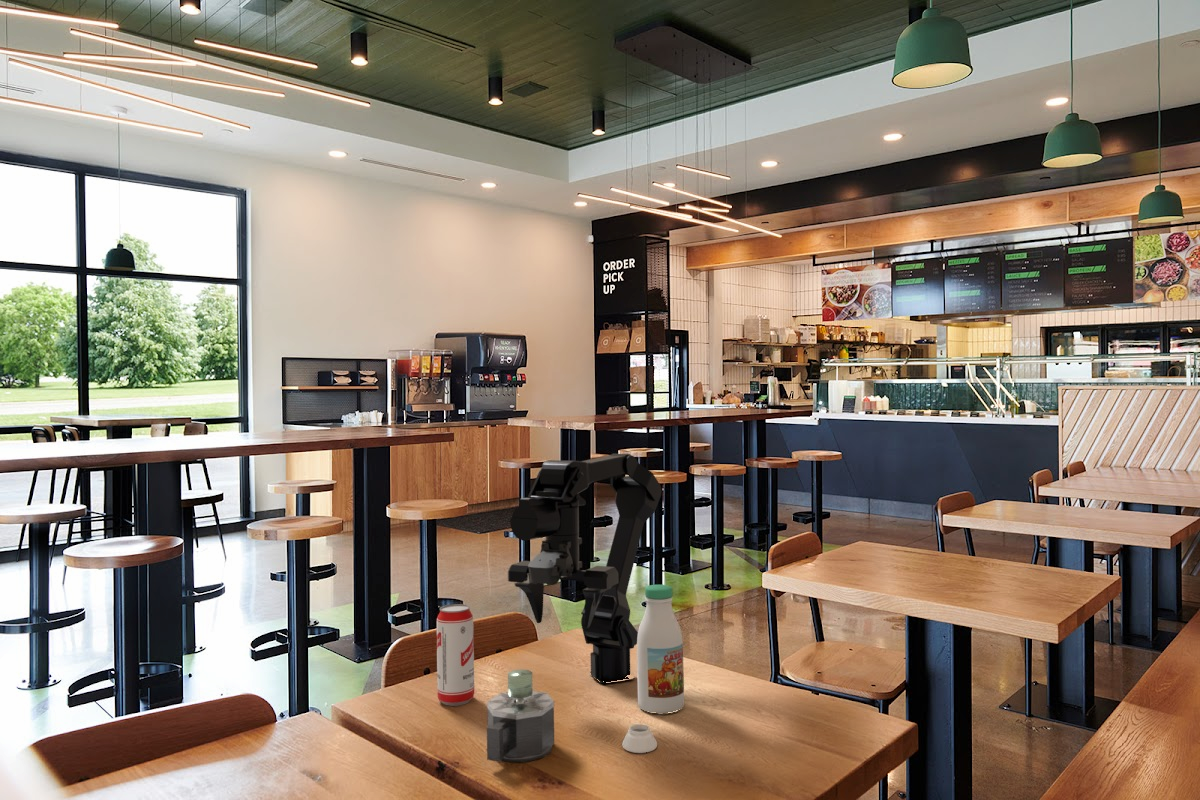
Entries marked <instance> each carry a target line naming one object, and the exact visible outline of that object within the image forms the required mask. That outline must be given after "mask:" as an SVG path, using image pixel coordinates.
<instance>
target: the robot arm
mask: <svg viewBox="0 0 1200 800" xmlns="http://www.w3.org/2000/svg"><path fill="white" fill-rule="evenodd" d="M604 480H610V483H609V485H610V488H611V489H612V490H613V491H614V493H615V500H614V501H615V502H614V503H615V506H616V509H617V512H618V520H617V525H616V527H615V532H614V535H613V539H612V543H611V546H610V550H609V554H608V558H607V561H606V565H595V566H593V567H590V568H588V569H585V570H584V569H582V568H583V561H580V545H581V544H583V537H579V536H580V533H579V532H580V525H579V524H580V520H579V519H580V518H579V517H580V516H579V515H580V513H579V511H580V510H579V506H580V507H581V506H585V505H586V504H587V502H586V500H585V499H584V498H583V497H582V496H580V493H581V492H583V491H585V490H587V489H588V488H589V486H590V484H592V483H595V482H599V481H604ZM662 492H663V491H662V487H661V484H660V482H659V481H658V480H657V478H656V477H655V475H654V473H653V472H652V471H651V470H650V469H648V468H647V467H645V466H643V464H641V463H640V462H639V461H638V460H637V458H636V457H635V456H634V455H632V454H630V453H611V454H609V455H606V456H601V457H597V458H591V459H587V460H580V461H579V460H561V459H560V460H554V459H553V460H550V459H548V460H545V461H544V462H543V463H542V464H541V468H540V470H539V472H538V473H537V475H536V477H535V480H534V483H533V484H532V487H531V488H530V491H529V493H528V496H527V497H521V498H520V499H519V505H518V506H517V507H516V508H515V509H514V510H513V512H512V514H511V517H510V522H509V524H510V529H511V531H512V533H513V535H514V536H515V537H516V538H517V539H518V540H520V541H531V540H535V539H541V538H545V539H544V540H542V541H541V545H540V547H541V548H540V553H538V554H536V555H535V556H534V557H533V559H531V561H530V560H522V561H518V562H516V563H513V564H511V565H510V566H509V568H508V570H507V581H508V582H511V583H512V582H513V583H514V586H515V587H516V588H520V589H521V591H522V592H523V593H524V594H525V596H526V598H527V600H528V603H529V605H530V608H531V612H532V613H533V614H532V615H533V617H534V620H535V623H537V624H540V623H542V621H543V615H544V594H545V593H544V592H545V591H544V589H545V588H544V587H545V585H547V586H554V585H555V586H556V584H558V583H559V582H560V581H573V582H574V581H575V582H583V584H584V585H585V586H586V588H583V589H582V593H583V596H584V607H583V609H582V611H581V613H580V614H581V620H580V626H581V629H582V632H583V637H584V640H585V643H586V644H587V645H592V652H590V673H591V675H592V678H594V677H595V678H596V679H598V680H599V681H600V682H601V683H606V682H611V681H617V680H623V679H629V678H628V677H626V676H627V675H630V674H631V650H632V649H634V648H635V646H637V636H638V630H637V629H636V628H635V626H634V625H633V624H632V622H631V621H630V617H631V608H630V605H629V602H628V599H627V592H628V587H629V585H630V584H629V583H630V581H631V575H632V572H633V569H634V563H635V561H636V556H637V552H638V547H639V544H640V539H641V537H642V532H643V528H644V525H645V522H647V521H648V519H649V518H650V517H651V516H652V515H654V513H655V512H656V509H657V508H658V505H659V502H660V499H661V496H662ZM590 673H589V674H590ZM591 675H590V676H591ZM625 677H626V678H625ZM595 678H594V679H595ZM596 679H595V680H596ZM603 681H604V682H603ZM600 682H599V683H600ZM601 683H600V684H601Z"/></svg>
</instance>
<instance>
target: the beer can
mask: <svg viewBox="0 0 1200 800" xmlns="http://www.w3.org/2000/svg"><path fill="white" fill-rule="evenodd" d="M470 607H471V606H470V605H467V604H464V603H454V604H446V605H444V606H441V607H439V613H438V614H437V617H436V672H437V673H436V675H437V676H436V677H437V682H436V683H437V698H438V700H439V701H440V702H441V703H442V704H443V705H444V706H445V705H446V706H448V707H449V706H450V707H454V706H455V707H456V706H457V707H458V706H462V705H465V704H468V703H469V702H470V701H471V700H472V699H473V698H474V696H475V655H474V654H475V653H474V652H475V651H474V650H475V649H474V646H475V645H474V644H475V643H474V640H475V638H474V615H473V613H472V611H471V610H470Z"/></svg>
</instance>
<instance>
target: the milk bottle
mask: <svg viewBox="0 0 1200 800" xmlns="http://www.w3.org/2000/svg"><path fill="white" fill-rule="evenodd" d="M673 590H674V589H673V587H672V586H670V585H667V584H650V585H647V586H646V587H645V589H644V595H645V599H644V600H645V602H646V605H645V606H646V607H645V612H644V613H643V614H644V615H643V617H642V619H641V622H640V624H639V627H638V630H637V632H638V636H637V644H636V669H637V670H636V672H637V675H636V676H637V679H636V680H637V706H638V708H639V709H640V708H641V709H643V710H645V711H649V712H656V713H668V712H673V711H676V710H679V709H681V708H682V707H683V708H684V705H685V675H684V673H685V672H684V671H685V670H684V646H683V645H684V644H683V643H684V642H683V641H684V640H683V635H682V634H683V633H682V629H681V626H680V624H679V622H678V620H677V618H676V615H675V613H674V609H673V606H672V605H673V604H672V602H673V594H674V591H673ZM683 708H682V709H683ZM641 709H640V710H641ZM682 709H681V710H682ZM643 710H642V711H643ZM645 711H644V712H645Z"/></svg>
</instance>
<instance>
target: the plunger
mask: <svg viewBox="0 0 1200 800" xmlns="http://www.w3.org/2000/svg"><path fill="white" fill-rule="evenodd" d="M533 685H534V684H533V671H532V670H530V669H529V670H528V669H524V668H522V669H513V670H510V671H508V672H507V692H508V696H510V697H512V698H517V704H522V703H524V698H525V697H529V696H531V695H532V694H533V691H534V689H533Z"/></svg>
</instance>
